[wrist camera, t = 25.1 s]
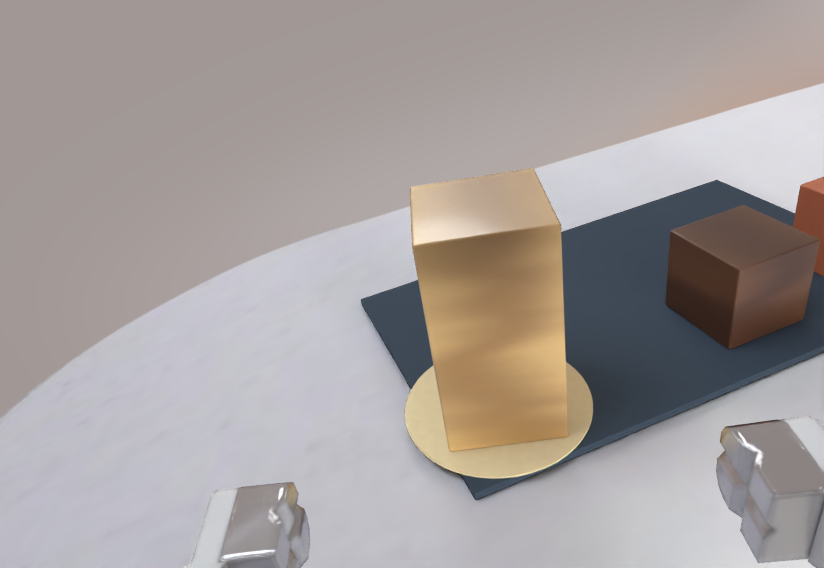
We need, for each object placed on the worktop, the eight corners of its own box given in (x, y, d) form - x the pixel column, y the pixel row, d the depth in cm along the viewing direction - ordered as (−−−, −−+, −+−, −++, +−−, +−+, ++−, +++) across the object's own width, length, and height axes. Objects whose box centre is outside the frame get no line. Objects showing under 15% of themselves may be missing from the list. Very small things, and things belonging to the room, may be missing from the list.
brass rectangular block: (449, 452, 26) (411, 246, 21) (442, 374, 31) (409, 186, 25) (568, 437, 26) (561, 223, 21) (545, 360, 30) (533, 166, 25)
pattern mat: (449, 516, 24) (447, 508, 24) (342, 310, 38) (341, 304, 37) (966, 295, 30) (969, 286, 30) (716, 184, 44) (716, 178, 43)
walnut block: (728, 350, 29) (740, 270, 27) (664, 304, 33) (669, 230, 30) (804, 319, 30) (821, 239, 28) (733, 278, 34) (743, 204, 31)
